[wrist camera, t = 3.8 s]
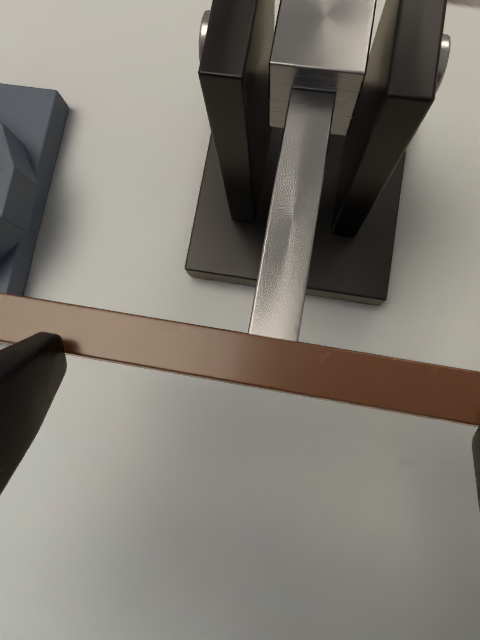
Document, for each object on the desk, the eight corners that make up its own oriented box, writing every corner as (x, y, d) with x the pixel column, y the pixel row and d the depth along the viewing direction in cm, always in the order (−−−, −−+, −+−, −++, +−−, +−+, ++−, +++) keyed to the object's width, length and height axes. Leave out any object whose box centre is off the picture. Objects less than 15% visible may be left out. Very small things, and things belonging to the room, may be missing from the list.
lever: (536, 438, 11) (613, 448, 8) (19, 346, 12) (-43, 332, 9) (558, 69, 12) (627, -10, 10) (104, 20, 13) (70, -61, 11)
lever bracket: (379, 306, 18) (500, 218, 9) (189, 276, 19) (107, 164, 9) (406, 105, 20) (539, -168, 10) (226, 84, 20) (187, -190, 11)
